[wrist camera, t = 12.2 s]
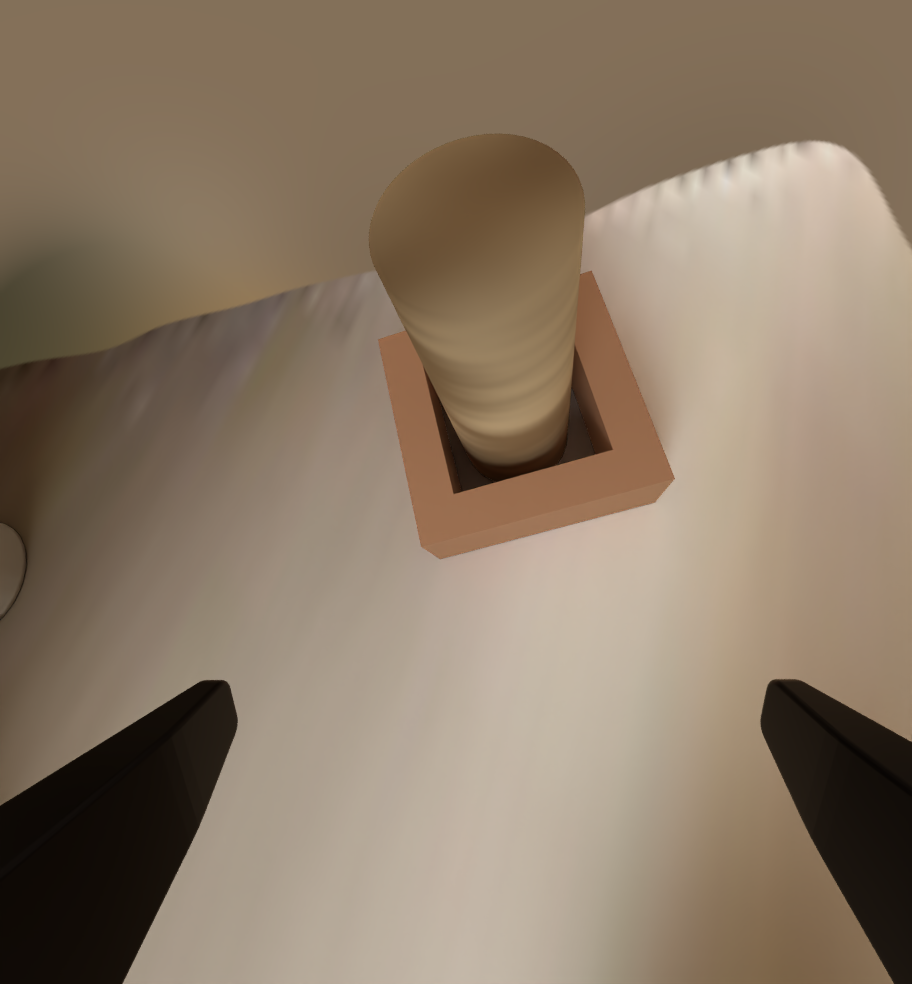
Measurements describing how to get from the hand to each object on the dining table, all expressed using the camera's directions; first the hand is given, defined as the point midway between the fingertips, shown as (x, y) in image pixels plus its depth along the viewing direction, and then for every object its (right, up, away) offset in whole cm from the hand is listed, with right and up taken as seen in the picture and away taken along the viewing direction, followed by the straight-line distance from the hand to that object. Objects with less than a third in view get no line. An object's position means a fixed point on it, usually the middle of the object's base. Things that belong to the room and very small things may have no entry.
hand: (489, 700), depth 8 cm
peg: (+2, +6, +15) cm, 17 cm away
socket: (+2, +6, +15) cm, 17 cm away
